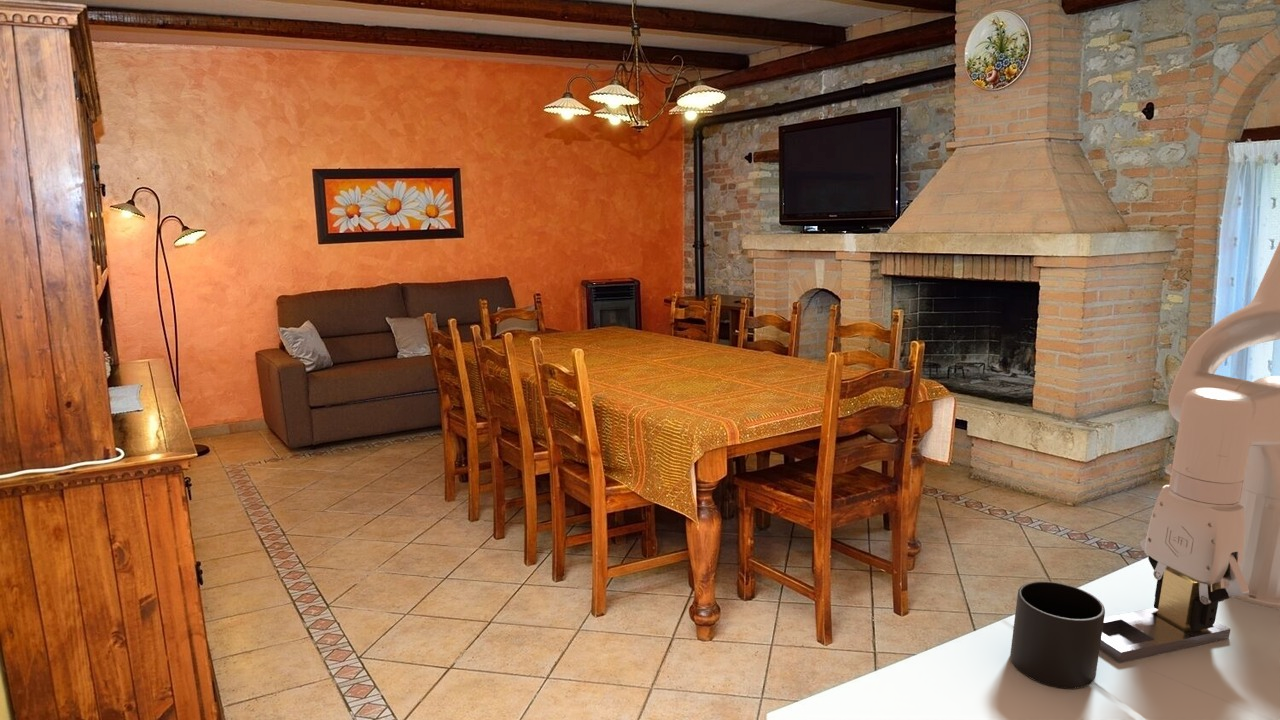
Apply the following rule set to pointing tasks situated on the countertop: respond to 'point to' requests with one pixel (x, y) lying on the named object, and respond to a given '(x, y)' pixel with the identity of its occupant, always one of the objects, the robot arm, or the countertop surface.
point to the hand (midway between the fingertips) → (1182, 616)
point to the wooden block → (1178, 599)
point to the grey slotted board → (1151, 636)
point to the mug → (1057, 634)
